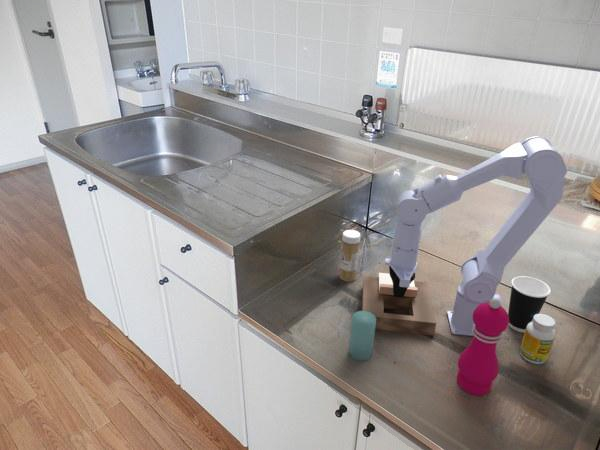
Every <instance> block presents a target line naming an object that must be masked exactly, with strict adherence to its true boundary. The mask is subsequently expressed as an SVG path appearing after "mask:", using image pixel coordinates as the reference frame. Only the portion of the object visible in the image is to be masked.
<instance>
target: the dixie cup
mask: <svg viewBox="0 0 600 450" xmlns="http://www.w3.org/2000/svg"><path fill="white" fill-rule="evenodd" d="M510 281H511V282H510V284H511V289H510V290H511V291H510V297H509V305H508V312H507V314H508V316H509V324H508V326H509V328H511V329H513V330H514V331H516V332H520V333H525V330H526V327H527V325H528V324H529V323H530V322H532V320H533V317H534V315H536V314H540V312H541V311H542V308H543V307H544V304H545V302H546V300H547V298H548V296H550V294H551V291H552V290H551V288H550V286H549V285H548V284H547V283H546V282H544V281H542V280H541V279H538V278H536V277H533V276H532V277H531V276H526V275H520V276H515V277H514V278H513V277H512V279H511V280H510Z"/></svg>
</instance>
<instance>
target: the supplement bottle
mask: <svg viewBox="0 0 600 450" xmlns="http://www.w3.org/2000/svg"><path fill="white" fill-rule="evenodd" d="M555 326H556V321H555V319H554V317H551V316H550V315H547V314H546V313H545V314H544V313H539V314H536V315H534V317H533V320H532V322H530V323H529V324H528V325H527V327H526V330H525V332H524V334H523V338H522V341H521V344H520V347H519V354H520V356H521V357H522V359H524V360H525V361H526V362H527V361H528V362H529V363H531V364H535V365H536V364H537V365H541V364H544V363H546V362H547V360H548V357H549V355H550V352H551V349H552V347H553V343H554V341H555V339H556V330H555V329H554V328H555Z"/></svg>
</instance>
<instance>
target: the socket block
mask: <svg viewBox="0 0 600 450" xmlns="http://www.w3.org/2000/svg"><path fill="white" fill-rule="evenodd" d="M414 284H415V287H417V289H418V291H417V297H409V296H404V297H403V298H401V297H394V295H389V294H379V277H375V276H365V275H364V276H363V282H362V298H361V299H362V301H361V311H367V312H370V313H372V314H373V315H374V316H375V317H376V326H375V330H378V331H379V330H380V331H386V332H398V333H406V334H413V335H414V334H415V335H424V336H431V337H432V336H435V332H436V327H437V319H436V315H435V311H434V310H435V309H434V304H433V300H432V295H431V289H430V285H429V282H426V281H416V280H414ZM385 309H390V310H391V309H392V310H400V311H401V310H402V311H409V314H408V315H407V314H398V313H397V314H396V313H388V312H384V311H385Z"/></svg>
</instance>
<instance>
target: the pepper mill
mask: <svg viewBox="0 0 600 450" xmlns="http://www.w3.org/2000/svg"><path fill="white" fill-rule="evenodd" d="M473 322H474V325H473V329H472V333H473V335H474V336H472V340H471V342H470V343H469V345H468V346H467V347H466V348H465V349H464V350H463V351H462V352H461V353H460V355H459V358H458V359H457V367H458V372H457V376H456V382H457V385H459V387H460V388H461V389H462V390H463V391H464V392H466V393H468V394H471V395H473V396H474V395H475V396H485V395H487V394H488V393H489V392H490V391H491V388H492V385H493V381H495V380H496V379H497V377H498V374H499V370H500V369H499V361H498V356H497V352H496V351H497V349H496V348H497V345H498V344H497V343H499V342H500V341H501V340H502V337H503V333H504V332H505V331H506V330H507V329H508V326H509V325H508V324H509V316H508V312H507V310H506V309H505V308H504V307H501V306H500V302H499V300H497V299H491V300H490V301H489V302H487V303H482V304H480V305H479V306H477V307H476V309H475V310H474V313H473Z"/></svg>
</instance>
